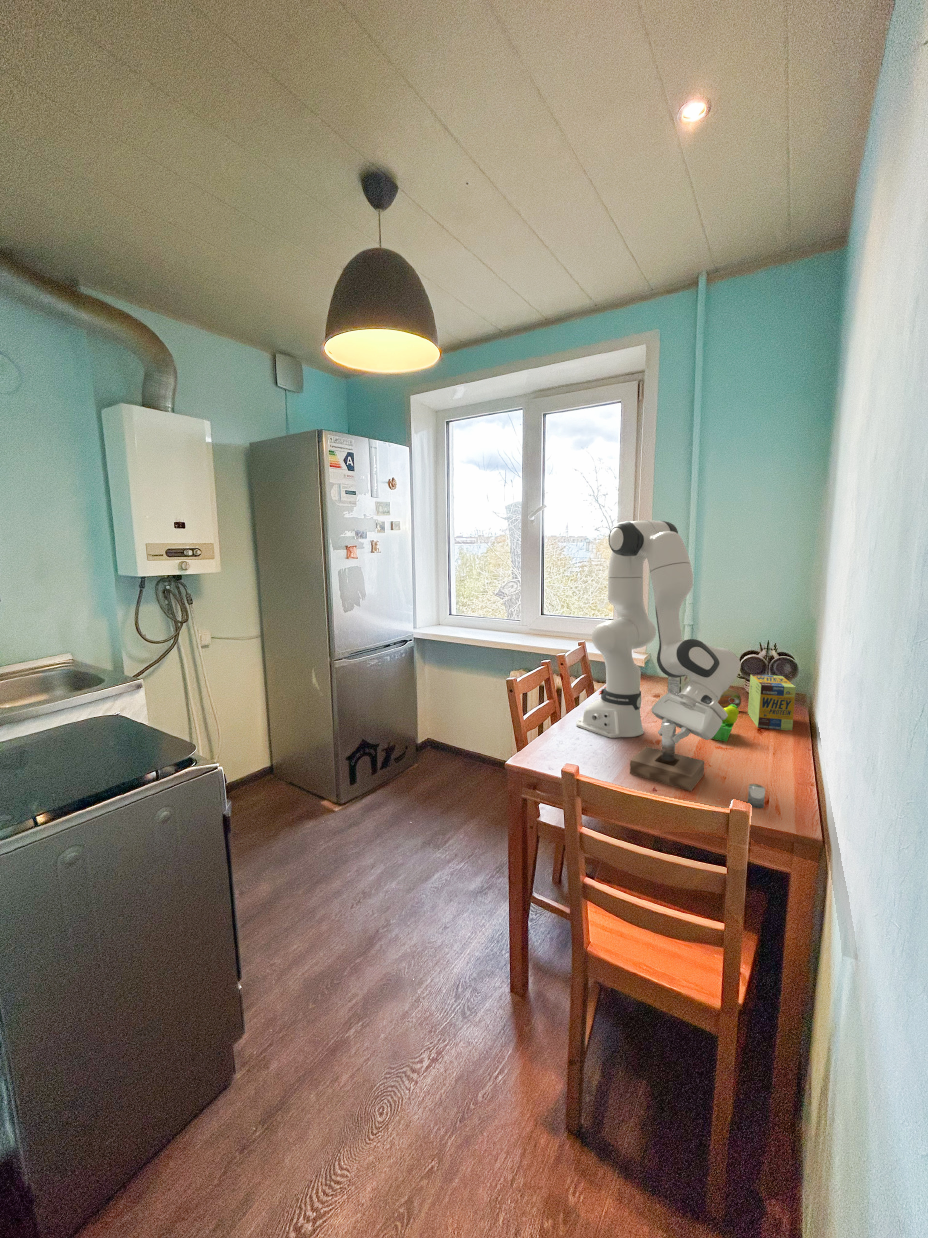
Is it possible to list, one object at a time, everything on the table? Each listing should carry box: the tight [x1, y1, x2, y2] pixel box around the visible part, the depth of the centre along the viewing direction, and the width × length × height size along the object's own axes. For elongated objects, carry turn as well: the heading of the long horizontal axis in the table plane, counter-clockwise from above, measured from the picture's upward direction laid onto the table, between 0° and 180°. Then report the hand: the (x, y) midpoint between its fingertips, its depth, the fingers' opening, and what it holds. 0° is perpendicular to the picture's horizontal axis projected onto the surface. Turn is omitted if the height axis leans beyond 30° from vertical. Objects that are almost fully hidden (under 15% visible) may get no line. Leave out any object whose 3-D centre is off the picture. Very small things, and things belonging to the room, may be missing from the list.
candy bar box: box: [667, 675, 690, 694], centre depth 179 cm, size 11×5×16 cm, turn 138°
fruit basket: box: [710, 704, 740, 742], centre depth 158 cm, size 11×9×11 cm
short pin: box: [747, 783, 766, 810], centre depth 116 cm, size 3×3×4 cm
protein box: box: [747, 673, 797, 731], centre depth 170 cm, size 10×15×16 cm
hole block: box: [629, 745, 705, 792], centre depth 132 cm, size 16×12×4 cm
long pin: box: [661, 721, 677, 761], centre depth 131 cm, size 3×3×10 cm
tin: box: [718, 687, 742, 709], centre depth 186 cm, size 15×3×8 cm, turn 56°
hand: (666, 738), depth 131 cm, fingers closed on long pin, 3 cm apart
